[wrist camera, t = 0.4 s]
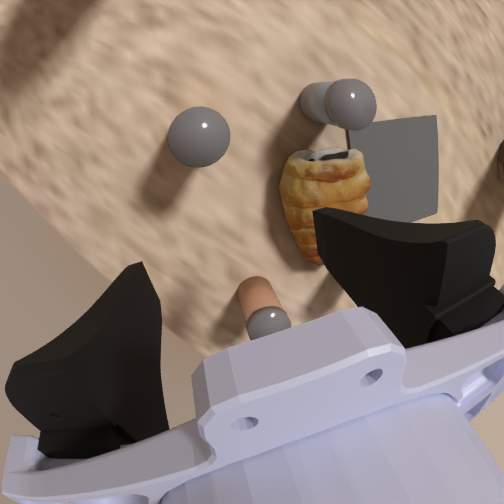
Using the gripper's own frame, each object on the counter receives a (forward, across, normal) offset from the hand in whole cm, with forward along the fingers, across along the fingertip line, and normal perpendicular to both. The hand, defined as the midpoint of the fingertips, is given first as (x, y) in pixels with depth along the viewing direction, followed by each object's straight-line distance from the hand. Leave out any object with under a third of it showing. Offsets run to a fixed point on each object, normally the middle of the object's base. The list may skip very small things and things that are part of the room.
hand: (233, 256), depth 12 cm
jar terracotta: (+10, -1, +10) cm, 14 cm away
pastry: (+10, -8, +3) cm, 13 cm away
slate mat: (+10, -16, +3) cm, 19 cm away
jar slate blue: (+10, -9, -4) cm, 14 cm away
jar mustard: (+10, 0, -4) cm, 11 cm away
